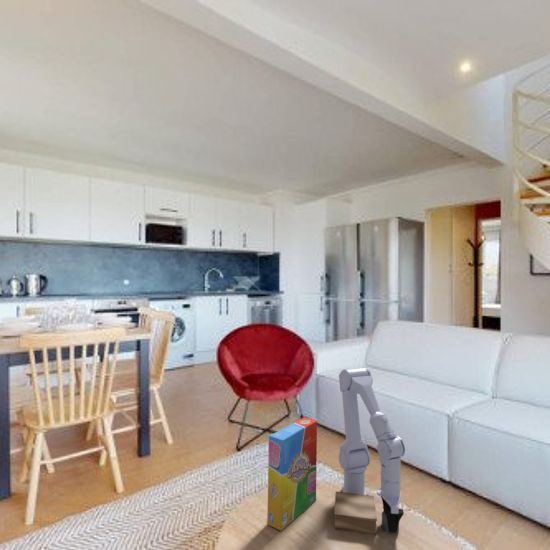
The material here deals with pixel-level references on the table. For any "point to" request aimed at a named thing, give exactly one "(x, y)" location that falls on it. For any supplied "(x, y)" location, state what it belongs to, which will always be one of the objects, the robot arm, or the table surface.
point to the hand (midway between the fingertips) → (390, 523)
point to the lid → (355, 506)
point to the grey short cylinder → (386, 524)
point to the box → (355, 525)
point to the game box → (291, 472)
